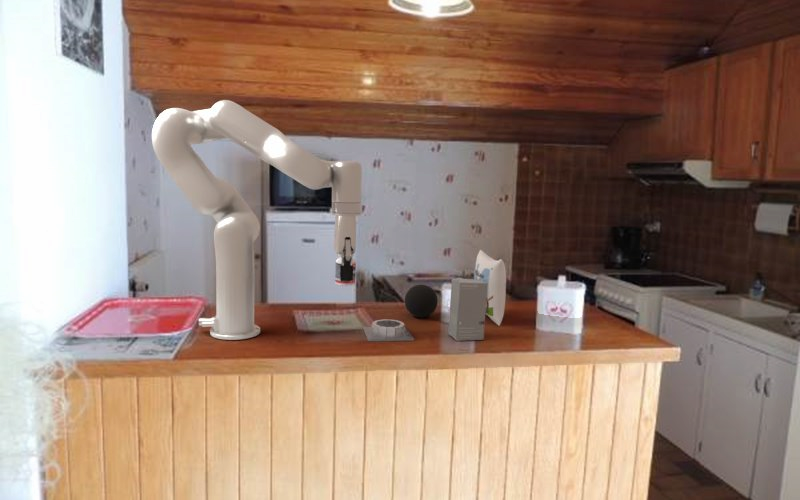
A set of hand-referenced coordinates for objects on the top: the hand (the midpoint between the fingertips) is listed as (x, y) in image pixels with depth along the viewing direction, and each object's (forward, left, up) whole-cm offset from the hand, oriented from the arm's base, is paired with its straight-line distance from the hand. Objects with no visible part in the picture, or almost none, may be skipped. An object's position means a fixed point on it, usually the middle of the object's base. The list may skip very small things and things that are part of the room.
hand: (345, 277), depth 149 cm
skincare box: (+33, -3, -16) cm, 37 cm away
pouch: (+46, +16, -16) cm, 51 cm away
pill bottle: (0, 0, -2) cm, 2 cm away
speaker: (+25, +18, -16) cm, 35 cm away
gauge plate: (+12, 0, -16) cm, 20 cm away
